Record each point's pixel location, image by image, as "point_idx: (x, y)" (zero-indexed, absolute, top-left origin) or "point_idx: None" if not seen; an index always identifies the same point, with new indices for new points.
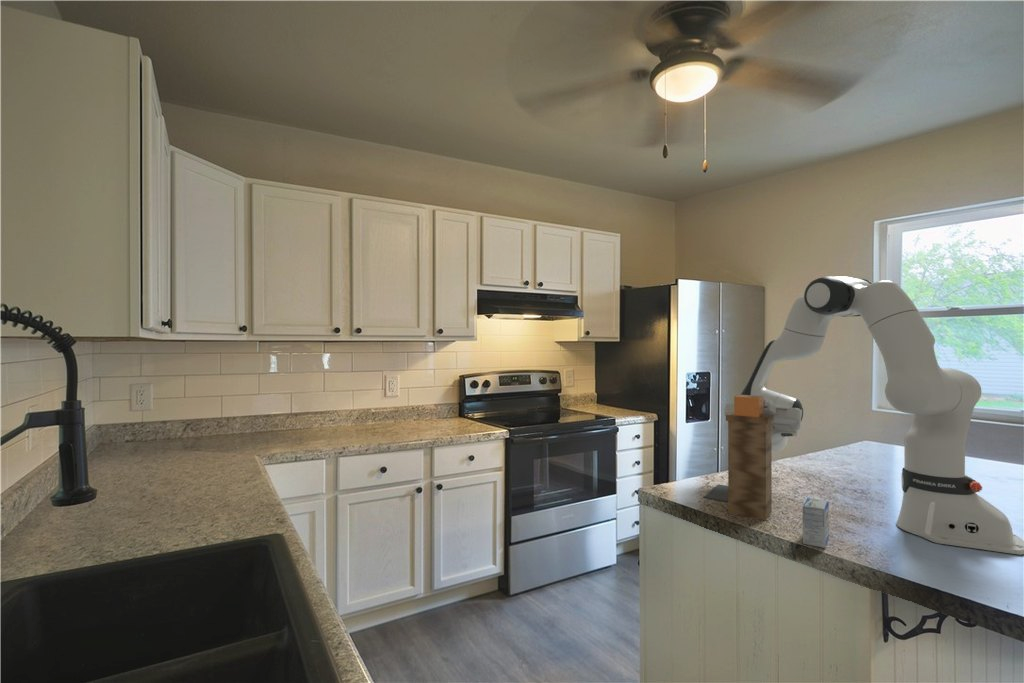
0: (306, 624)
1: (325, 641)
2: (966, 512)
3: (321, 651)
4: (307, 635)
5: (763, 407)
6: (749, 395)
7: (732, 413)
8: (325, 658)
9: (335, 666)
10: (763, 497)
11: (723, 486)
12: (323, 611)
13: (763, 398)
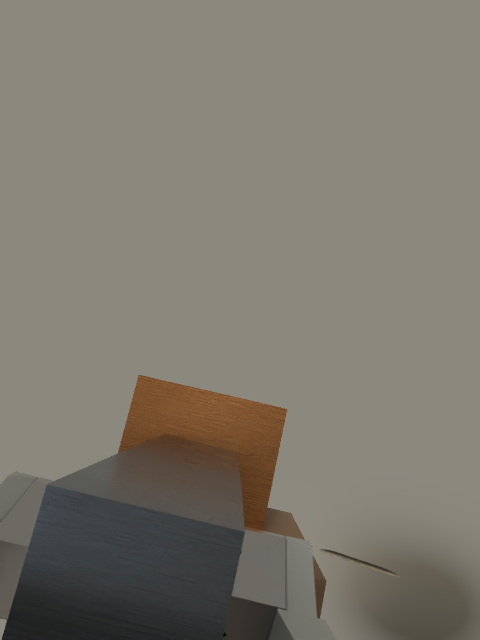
0: (380, 567)
1: (354, 560)
2: None
3: (345, 556)
4: (367, 562)
5: (121, 450)
6: (222, 394)
7: (287, 534)
8: (337, 554)
9: (327, 551)
10: None
11: None
12: (391, 574)
13: (136, 389)
